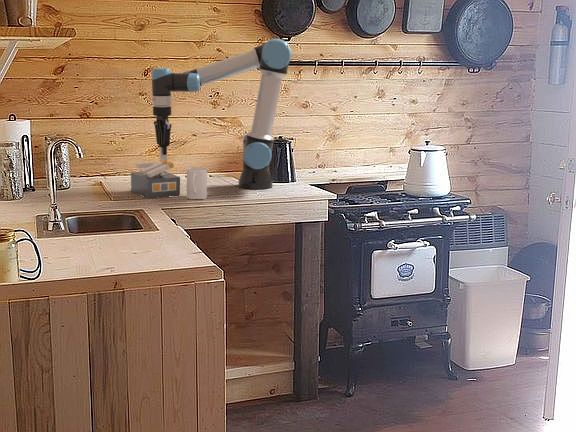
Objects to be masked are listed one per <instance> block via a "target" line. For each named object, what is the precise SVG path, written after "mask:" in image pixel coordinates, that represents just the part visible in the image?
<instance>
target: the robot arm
mask: <svg viewBox="0 0 576 432" xmlns="http://www.w3.org/2000/svg"><path fill="white" fill-rule="evenodd" d="M291 59H292V49H291V47H290V45H289V43H288V42H287V41H285V40H283V39H281V38H271V39H270V40H267V41H266V42H264V43H262V44H259V45H258V46H254V47H253V48H252V50H250V51H247V52H244V53H241V54H237V55H235V56H231V57H227V58H225V59H222V60H220V61H216V62H213V63H210V64H207V65H204V66H200V67H197V68H195V69H191V70H188V71H183V72H179V73H177V72H176V73H175V72H171V69H170V68H169V67H155V68H153V69H152V71H151V89H152V98H151V100H152V105H153V107H152V114H153V116H155V117H156V120H154V121H153V125H154V130H155V138H156V139H155V140H156V144H157V145H158V147H159V162H160V161H162V160H165V161H167V162H168V147H170V143H171V142H170V141H171V131H172V130H171V129H172V123H169V122H170V121H169V116H172V107H171V105H172V93H171V92H179V93H180V92H183V93H195V92H196V93H197V92H199V91H200V89H201V88H200V87H202V86H205V85H208V84H211V83H214V82H218V81H221V80H223V79H227V78H230V77H233V76H237V75H239V74H243V73H246V72H248V71H252V70H256V69H258V70H259V72H260V73H261V77H260V83H259V89H258V94H257V100H256V104H255V108H254V109H255V110H254V114H253V119H252V124H251V130H250V131H249V132H248V133H246V134H244V136H243V140H242V145H243V146H242V169H241V173H240V175H239V179H238V187H240V188H242V189H248V190H266V189H272V188H273V178H272V175H271V172H270V163H271V161H272V157H273V153H272V151H273V146H274V141H275V137H273V136H272V134H273V127H274V122H275V116H276V112H277V107H278V101H279V95H280V90H281V86H282V81H283V78H284V77H285V76H287V74H288V68H289V65H290V64H289V63H290V61H291Z"/></svg>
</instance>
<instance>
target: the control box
mask: <svg viewBox="0 0 576 432" xmlns="http://www.w3.org/2000/svg"><path fill="white" fill-rule="evenodd" d="M130 192H132V193H134V194H136V193H137V194H136V195H138V194H139V196H140V195H142V196H144V197H143V198H145V197H146V198H145V199H147V198H155V199H158V198H157V197H167V198H170V197H169V196H178V197H180V196H181V177H180V176H178V175H176V174H173V173H170V172H168V171H164V172H162V173H159V174H157V175H155V176H153V177H151V178H150V177H148V176H147V174H146V175H143V174H141V171H133V172H130ZM179 195H180V196H179ZM142 196H141V197H142Z"/></svg>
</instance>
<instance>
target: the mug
mask: <svg viewBox="0 0 576 432" xmlns="http://www.w3.org/2000/svg"><path fill="white" fill-rule="evenodd" d="M207 176H208V169H207V168H206V167H200V166H199V167H197V166H196V167H195V166H193V167H187V168H186V196H185V198H186V197H187V198H189V199H188V200H192V199H203V200H206V199H208V193H207V192H208V191H207V190H208V189H207V188H208V185H207V184H208V181H207V180H208V177H207ZM187 198H186V199H187Z"/></svg>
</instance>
